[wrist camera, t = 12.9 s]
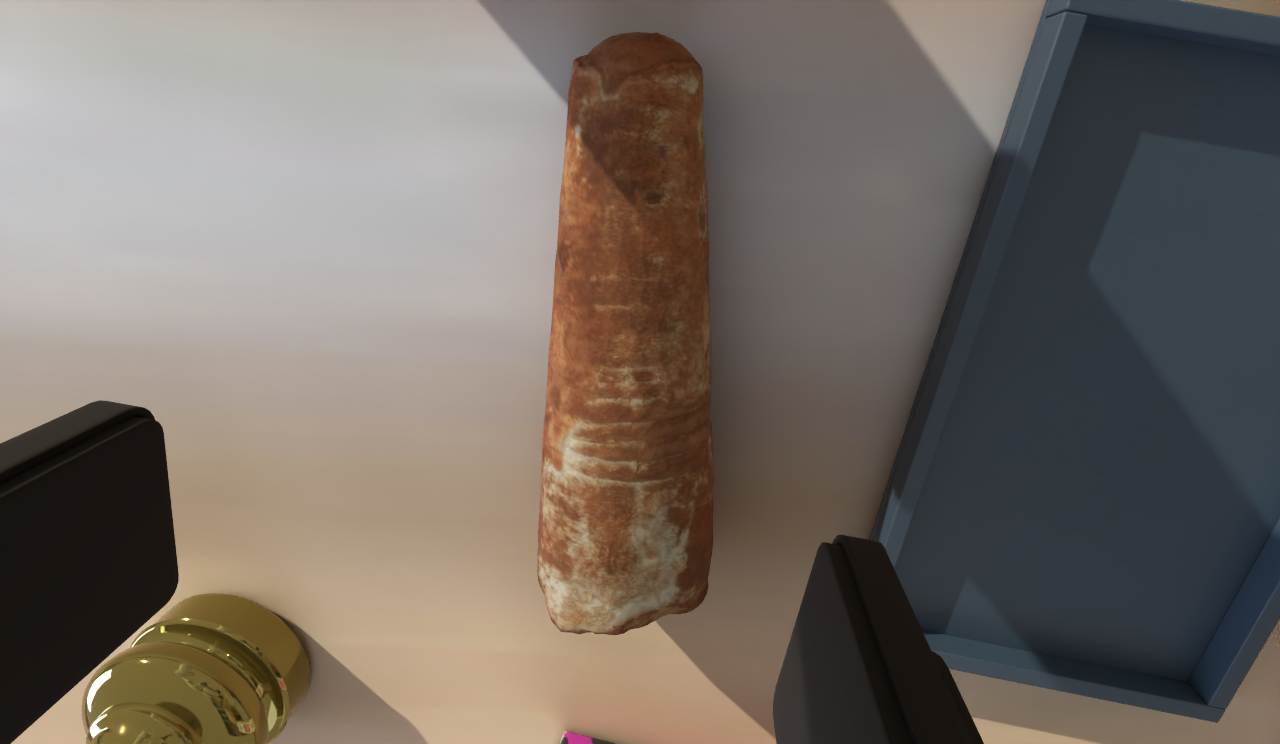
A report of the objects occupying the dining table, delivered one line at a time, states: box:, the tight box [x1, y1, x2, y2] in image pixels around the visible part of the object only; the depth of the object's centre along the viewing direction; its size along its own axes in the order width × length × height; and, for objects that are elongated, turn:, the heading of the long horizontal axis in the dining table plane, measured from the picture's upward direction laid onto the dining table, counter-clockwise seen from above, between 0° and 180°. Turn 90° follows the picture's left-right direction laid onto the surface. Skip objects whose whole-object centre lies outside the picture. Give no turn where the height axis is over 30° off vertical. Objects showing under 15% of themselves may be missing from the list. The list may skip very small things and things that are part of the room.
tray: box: [869, 0, 1280, 722], centre depth 23 cm, size 23×14×2 cm, turn 171°
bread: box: [538, 32, 713, 635], centre depth 22 cm, size 6×19×6 cm, turn 176°
